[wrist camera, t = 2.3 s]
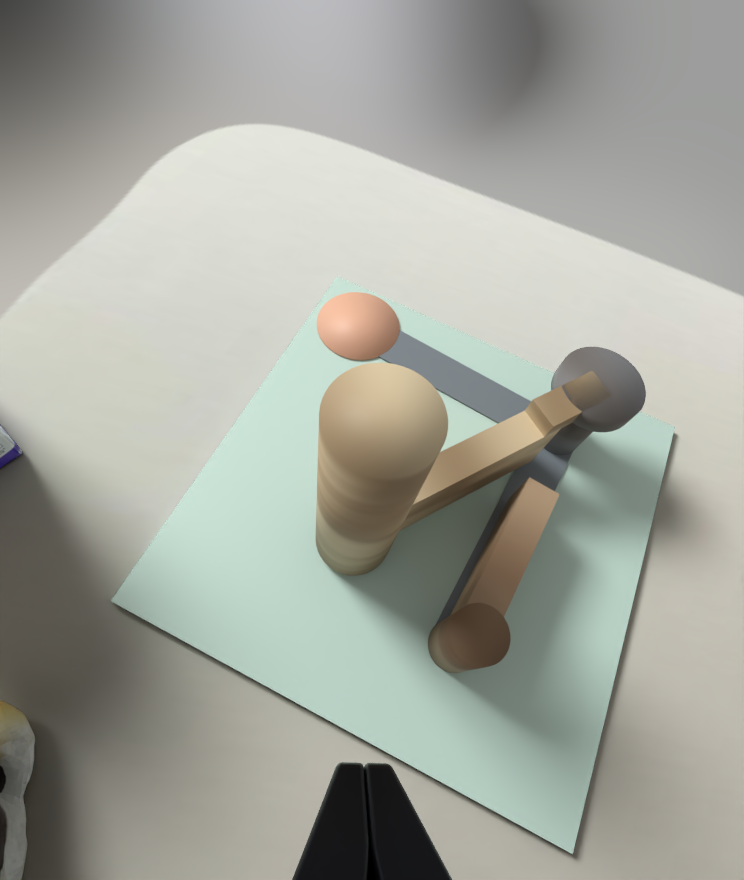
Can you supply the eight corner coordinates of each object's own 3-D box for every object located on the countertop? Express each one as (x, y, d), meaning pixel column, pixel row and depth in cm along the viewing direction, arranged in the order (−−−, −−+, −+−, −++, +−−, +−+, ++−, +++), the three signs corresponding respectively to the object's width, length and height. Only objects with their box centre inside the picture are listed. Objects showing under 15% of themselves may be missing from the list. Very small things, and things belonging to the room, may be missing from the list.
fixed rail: (543, 406, 24) (578, 362, 21) (584, 429, 24) (626, 387, 20) (416, 653, 19) (437, 643, 16) (466, 685, 19) (498, 681, 15)
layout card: (568, 852, 17) (574, 855, 17) (113, 602, 19) (109, 600, 18) (671, 430, 24) (676, 425, 24) (337, 280, 26) (337, 274, 26)
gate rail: (564, 388, 24) (702, 217, 16) (609, 446, 23) (785, 296, 14) (300, 517, 20) (292, 383, 12) (339, 594, 19) (363, 508, 11)
